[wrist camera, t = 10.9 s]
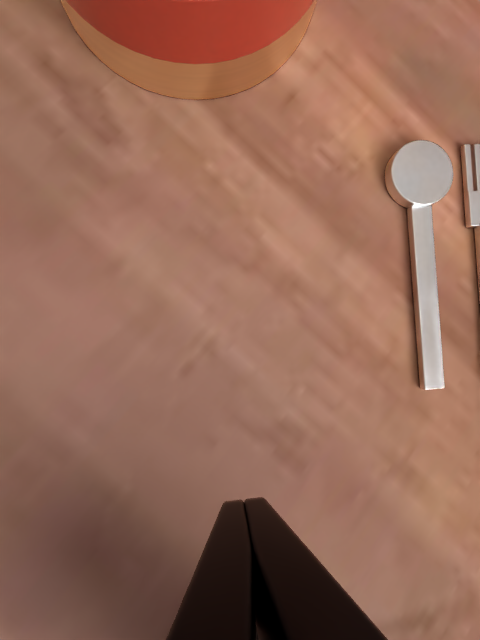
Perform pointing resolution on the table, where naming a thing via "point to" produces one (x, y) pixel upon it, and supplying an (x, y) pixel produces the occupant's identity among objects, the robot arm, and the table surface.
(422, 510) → the table surface
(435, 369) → the spoon
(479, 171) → the fork
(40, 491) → the table surface
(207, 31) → the tin
